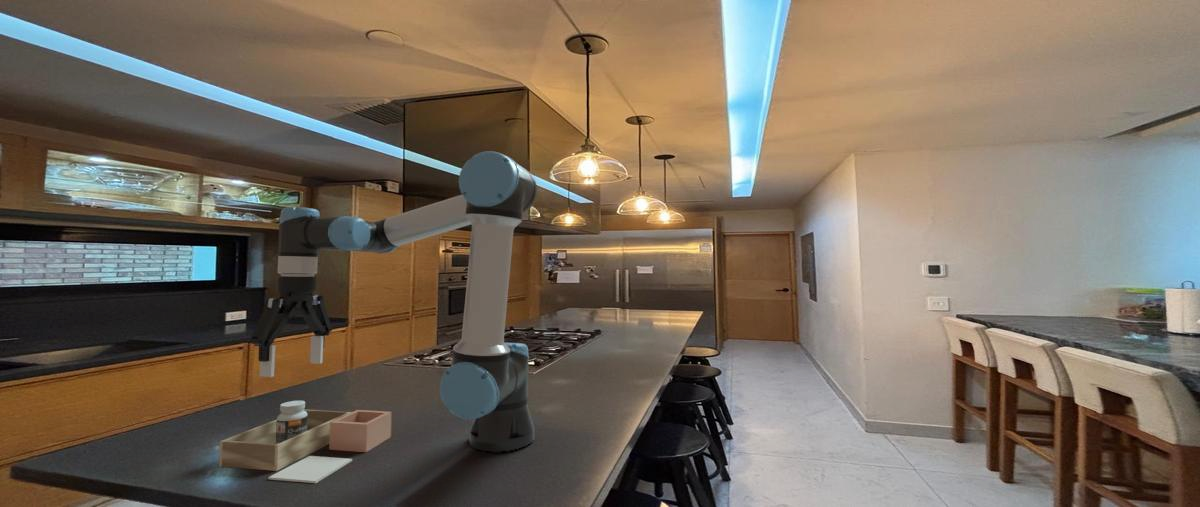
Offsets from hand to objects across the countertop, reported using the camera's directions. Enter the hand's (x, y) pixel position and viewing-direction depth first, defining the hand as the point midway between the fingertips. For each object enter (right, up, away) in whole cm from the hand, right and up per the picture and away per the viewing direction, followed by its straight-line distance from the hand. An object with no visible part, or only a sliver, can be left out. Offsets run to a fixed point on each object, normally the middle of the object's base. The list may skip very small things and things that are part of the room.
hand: (293, 369), depth 100 cm
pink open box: (+14, -18, +2) cm, 23 cm away
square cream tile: (+12, -17, -11) cm, 24 cm away
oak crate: (0, -17, -1) cm, 17 cm away
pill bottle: (0, -18, -1) cm, 18 cm away
